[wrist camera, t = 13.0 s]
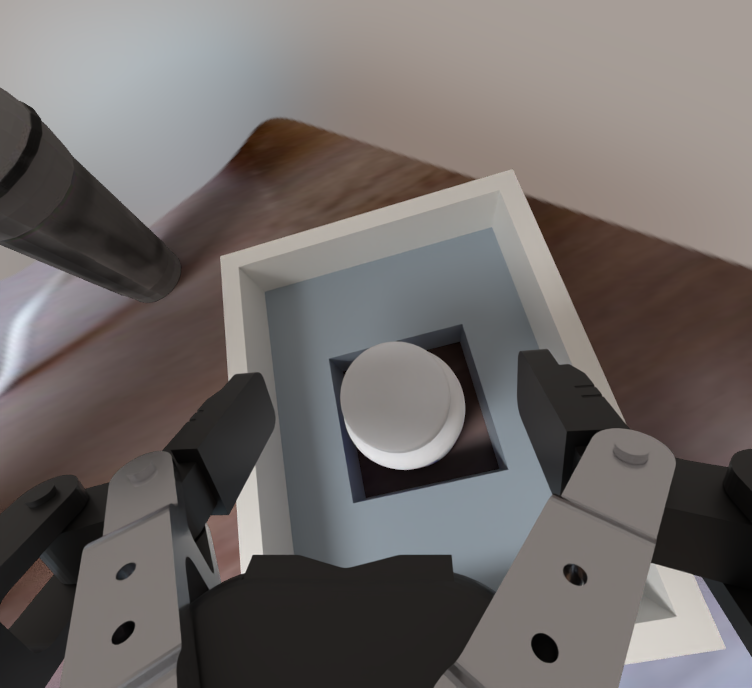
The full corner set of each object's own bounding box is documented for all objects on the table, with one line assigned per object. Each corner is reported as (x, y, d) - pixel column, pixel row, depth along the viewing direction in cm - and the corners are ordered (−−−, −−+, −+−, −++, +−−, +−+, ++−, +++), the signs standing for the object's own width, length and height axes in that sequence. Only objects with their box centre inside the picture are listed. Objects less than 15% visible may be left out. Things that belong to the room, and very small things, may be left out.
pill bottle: (407, 359, 22) (387, 297, 14) (478, 415, 21) (503, 381, 12) (350, 425, 22) (294, 402, 13) (418, 489, 20) (402, 507, 12)
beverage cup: (206, 232, 28) (-250, -209, 10) (186, 318, 26) (-451, -41, 8) (126, 238, 30) (-408, -140, 11) (101, 321, 28) (-618, 20, 9)
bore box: (309, 644, 19) (250, 723, 13) (269, 302, 25) (220, 256, 20) (632, 587, 17) (726, 648, 11) (496, 238, 24) (512, 169, 18)
